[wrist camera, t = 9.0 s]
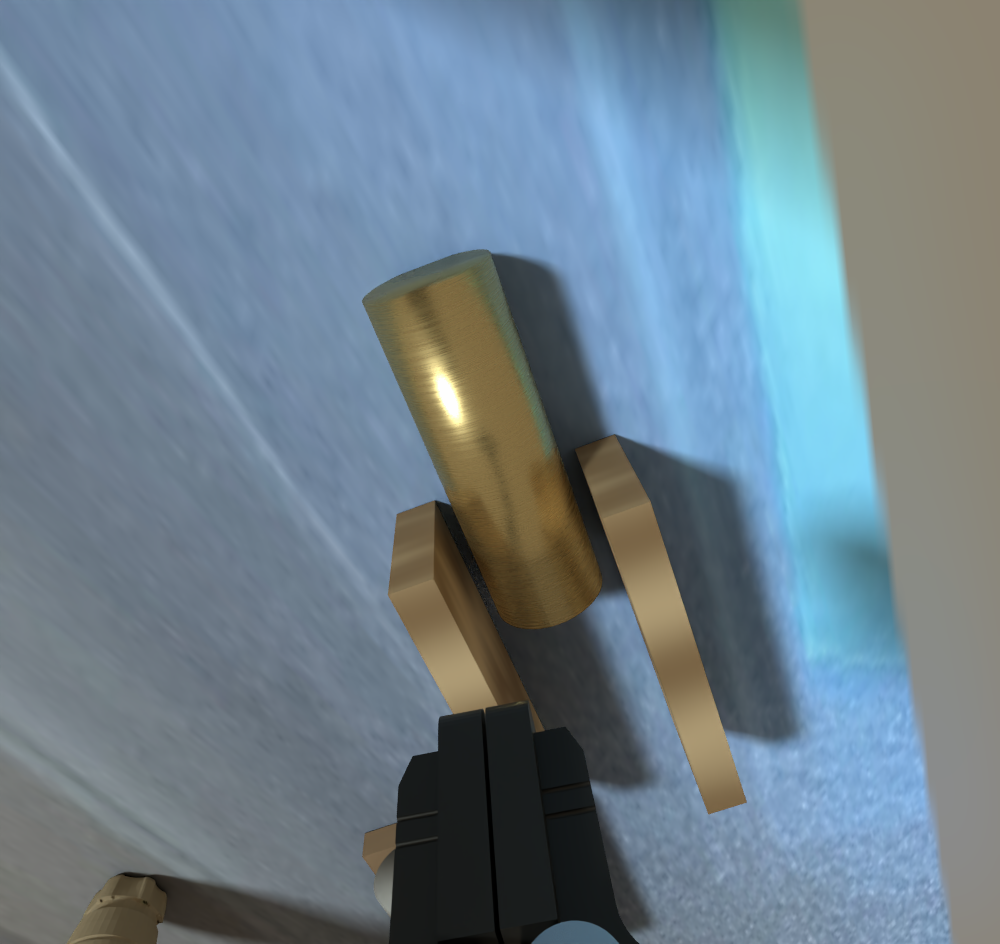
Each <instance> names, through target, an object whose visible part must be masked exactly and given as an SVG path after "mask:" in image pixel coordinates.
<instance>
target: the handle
mask: <svg viewBox="0 0 1000 944" xmlns="http://www.w3.org/2000/svg"><path fill="white" fill-rule="evenodd" d="M166 904H167V896H166V893H165V892H163V891H161V890H160V889H159V888H158V887H157V886H156V884H155V880H154V879H152V878H150V877H144V878H133V877H127V876H124V875H117V876H114V877H112V878H110V879H109V880H108V881H107V883H106V884H105V886H104V887H103V889H102V890H100V891H99V892H98V893H96V895H95V896H94V898H93V899H92V901H91V902H90V904H89V906H88V908H87V910H86V911H85V913H84V916H83V919H82V920H81V921H80V923H79V924H78V926H77V928H76V929H75V931H74V932H73V934H72V936H71V937H70V939H69V941H68V942H67V944H156V943H157V936H158V929H157V926H156V925H157V924H158V923H163V919H164V915H165V911H166Z"/></svg>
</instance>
